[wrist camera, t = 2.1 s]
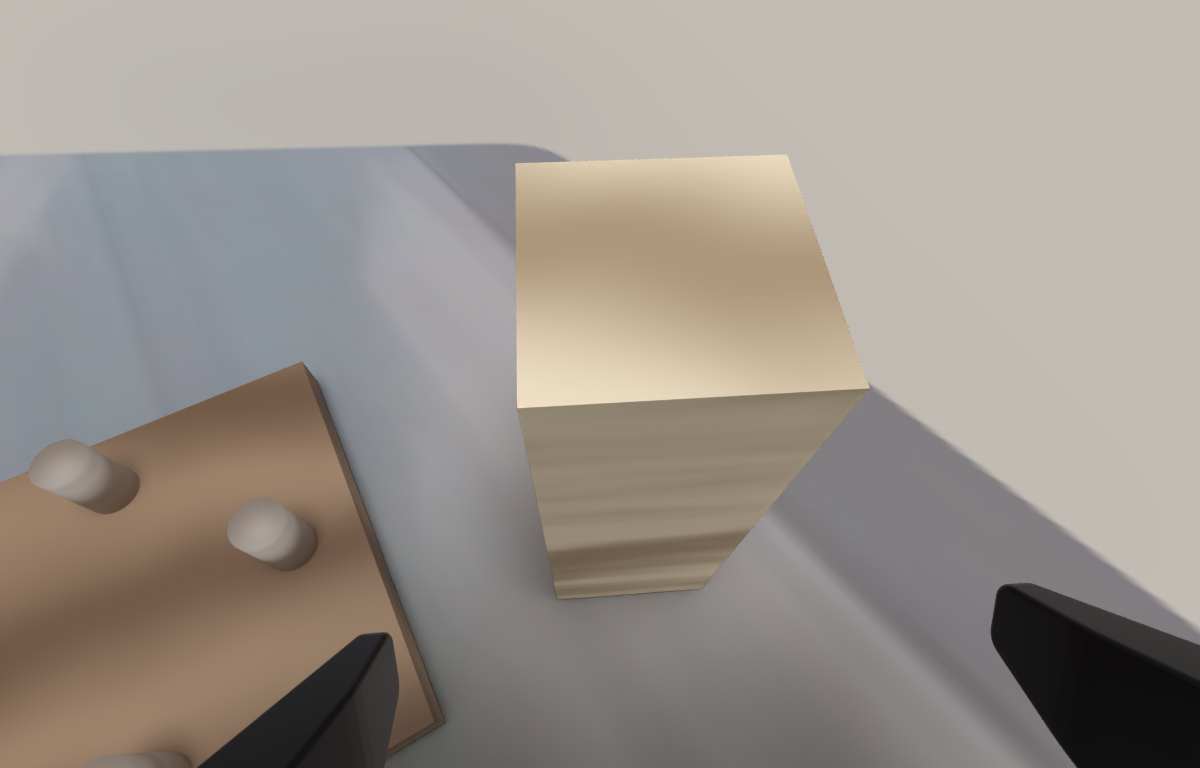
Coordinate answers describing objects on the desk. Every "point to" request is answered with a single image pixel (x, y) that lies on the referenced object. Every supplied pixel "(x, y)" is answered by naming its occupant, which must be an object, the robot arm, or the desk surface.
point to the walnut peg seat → (188, 583)
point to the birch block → (669, 360)
